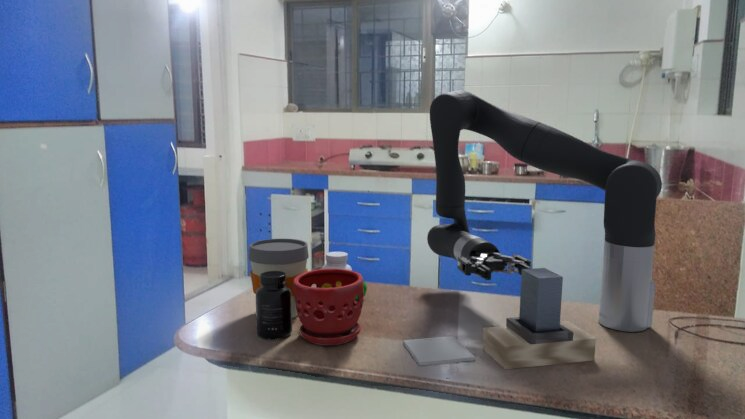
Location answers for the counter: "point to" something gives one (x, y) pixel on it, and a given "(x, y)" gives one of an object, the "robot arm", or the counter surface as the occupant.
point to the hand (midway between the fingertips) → (509, 274)
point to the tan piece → (537, 345)
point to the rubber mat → (438, 350)
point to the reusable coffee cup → (278, 261)
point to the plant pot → (329, 305)
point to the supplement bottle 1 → (273, 306)
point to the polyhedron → (364, 290)
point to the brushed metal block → (540, 300)
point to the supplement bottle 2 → (336, 264)
